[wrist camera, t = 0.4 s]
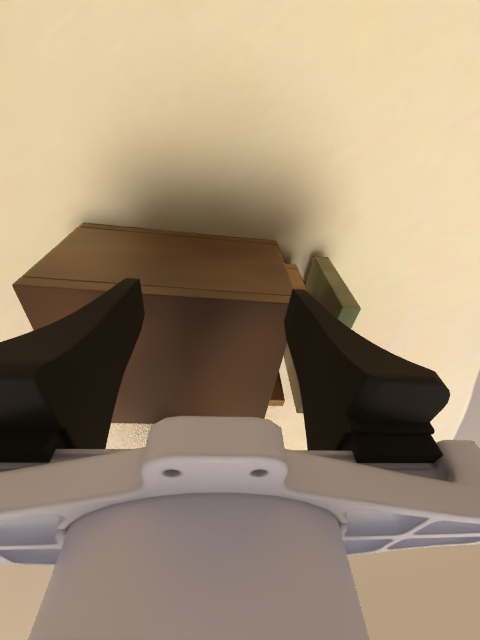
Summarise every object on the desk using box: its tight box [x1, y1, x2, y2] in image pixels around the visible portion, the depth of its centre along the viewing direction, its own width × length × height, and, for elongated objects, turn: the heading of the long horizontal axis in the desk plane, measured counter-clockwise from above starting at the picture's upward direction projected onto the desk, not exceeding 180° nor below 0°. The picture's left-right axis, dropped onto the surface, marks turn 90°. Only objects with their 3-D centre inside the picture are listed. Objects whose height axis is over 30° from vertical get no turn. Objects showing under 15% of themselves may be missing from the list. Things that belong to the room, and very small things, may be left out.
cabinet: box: [12, 223, 293, 424], centre depth 21 cm, size 15×13×9 cm
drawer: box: [268, 256, 361, 413], centre depth 22 cm, size 15×11×7 cm
